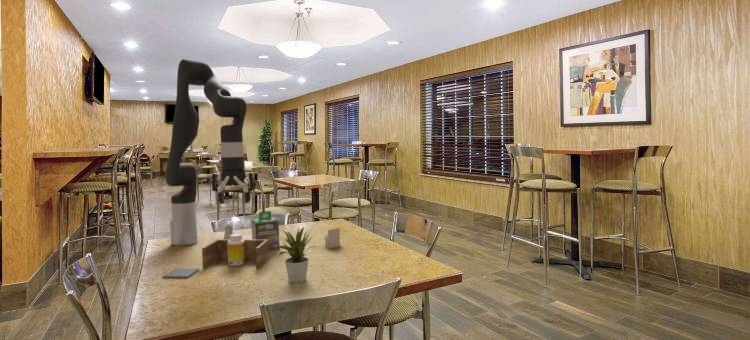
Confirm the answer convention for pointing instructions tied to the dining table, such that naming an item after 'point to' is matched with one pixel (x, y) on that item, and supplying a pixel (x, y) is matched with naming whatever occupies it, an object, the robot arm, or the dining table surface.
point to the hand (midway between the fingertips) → (234, 203)
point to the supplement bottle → (236, 250)
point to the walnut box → (220, 251)
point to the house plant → (296, 256)
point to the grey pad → (181, 273)
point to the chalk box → (266, 229)
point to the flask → (228, 232)
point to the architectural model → (332, 238)
